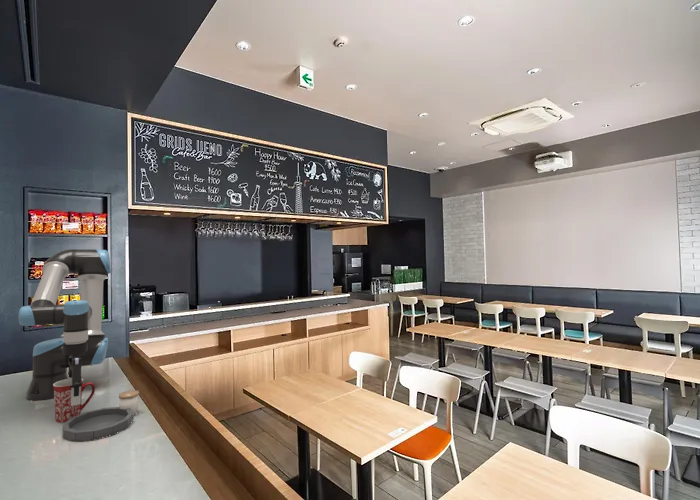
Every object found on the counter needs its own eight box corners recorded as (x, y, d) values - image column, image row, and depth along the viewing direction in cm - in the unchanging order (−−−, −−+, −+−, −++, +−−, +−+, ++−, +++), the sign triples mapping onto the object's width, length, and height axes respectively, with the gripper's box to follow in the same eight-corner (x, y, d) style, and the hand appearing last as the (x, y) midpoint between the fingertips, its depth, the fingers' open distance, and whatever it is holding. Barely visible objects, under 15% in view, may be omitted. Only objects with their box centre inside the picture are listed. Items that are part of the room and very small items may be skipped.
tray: (61, 425, 129) (61, 417, 129) (126, 410, 142) (126, 402, 142) (64, 448, 114) (65, 438, 114) (137, 428, 127) (137, 420, 127)
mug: (51, 426, 128) (52, 387, 129) (52, 417, 135) (53, 381, 136) (95, 416, 136) (96, 380, 136) (93, 408, 143) (94, 374, 144)
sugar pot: (116, 413, 139) (117, 392, 139) (136, 408, 143) (136, 388, 144) (120, 419, 134) (120, 397, 134) (140, 414, 138) (140, 393, 139)
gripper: (60, 338, 143) (59, 392, 143) (65, 349, 125) (63, 412, 124) (84, 335, 148) (82, 388, 148) (91, 346, 130) (90, 406, 129)
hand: (74, 399), depth 136 cm, fingers open, 13 cm apart
